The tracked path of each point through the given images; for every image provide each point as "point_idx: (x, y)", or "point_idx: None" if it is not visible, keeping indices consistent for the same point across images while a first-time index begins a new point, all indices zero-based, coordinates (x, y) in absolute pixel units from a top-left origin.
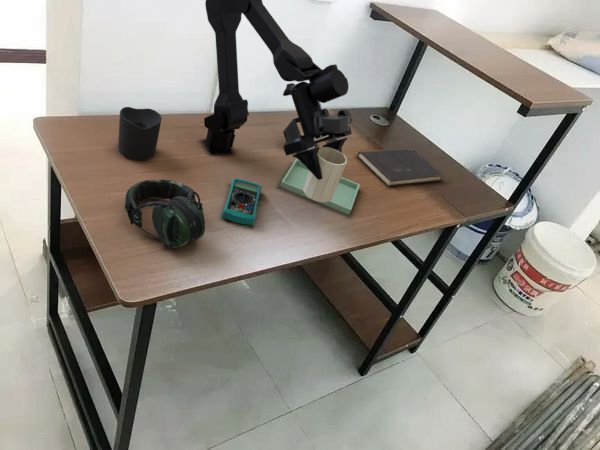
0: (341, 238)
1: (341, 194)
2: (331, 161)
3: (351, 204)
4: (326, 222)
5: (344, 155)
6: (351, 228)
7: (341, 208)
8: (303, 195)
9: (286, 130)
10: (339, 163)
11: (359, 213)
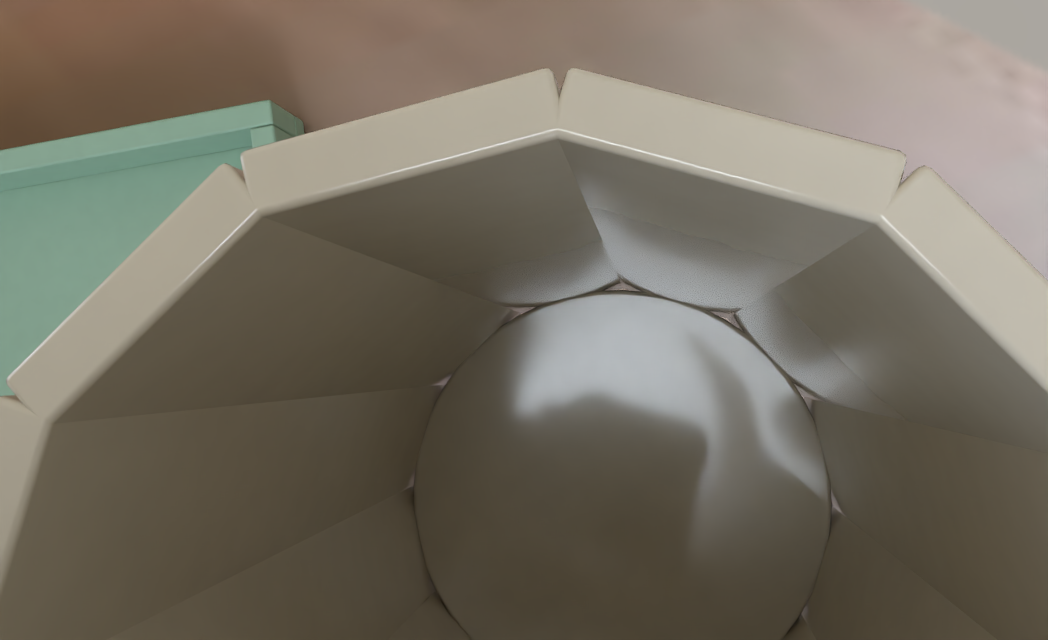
0: (707, 38)
1: (16, 313)
2: (220, 624)
3: (165, 135)
4: None
5: (39, 353)
6: (467, 21)
7: None
8: None
9: None
10: (238, 399)
11: (163, 51)
